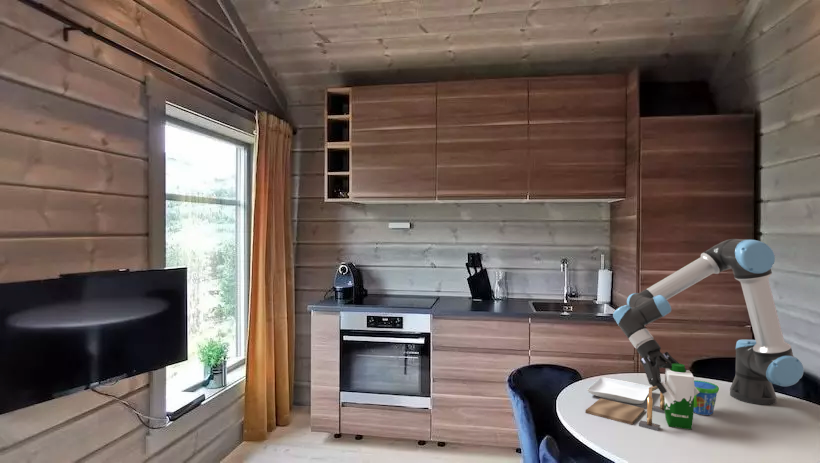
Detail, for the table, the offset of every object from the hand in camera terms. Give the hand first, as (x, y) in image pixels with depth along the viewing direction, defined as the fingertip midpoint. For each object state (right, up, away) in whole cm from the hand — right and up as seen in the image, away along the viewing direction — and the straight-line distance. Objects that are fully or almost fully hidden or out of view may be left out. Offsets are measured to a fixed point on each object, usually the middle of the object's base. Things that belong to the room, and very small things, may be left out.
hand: (684, 398), depth 167 cm
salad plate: (-9, -10, +30) cm, 33 cm away
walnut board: (-18, -9, +13) cm, 24 cm away
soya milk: (-1, -10, +2) cm, 10 cm away
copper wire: (-7, -10, +7) cm, 13 cm away
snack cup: (+13, -10, +13) cm, 21 cm away
